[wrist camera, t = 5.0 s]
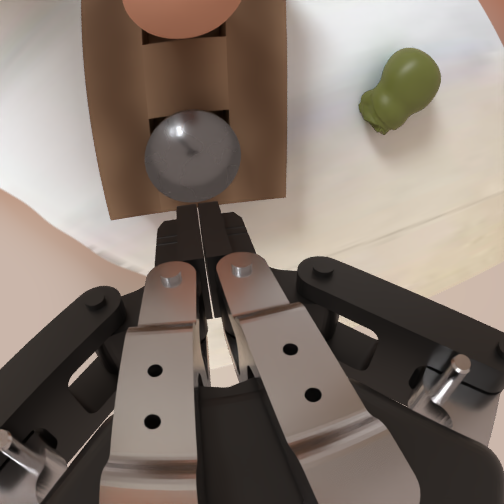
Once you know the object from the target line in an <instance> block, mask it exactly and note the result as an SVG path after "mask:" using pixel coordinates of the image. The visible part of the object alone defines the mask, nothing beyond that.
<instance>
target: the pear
mask: <svg viewBox="0 0 504 504" xmlns="http://www.w3.org/2000/svg"><path fill="white" fill-rule="evenodd" d="M440 83H441V74H440V70H439V68H438V66H437V64H436V63H435V61H434V60H433V59H432V58H431V57H430V56H429V55H428V54H426V53H425V52H423V51H421V50H419V49H416V48H404V49H401V50H399V51H397V52H396V53H394V54H393V55H392V56H391V57H390V59H389V60H388V62H387V63H386V65H385V67H384V70H383V73H382V77H381V80H380V82H379V83H378V85H377V86H376V87H375V88H374V89H373V90H369V91H367V92H365V93H364V94H363V95H362V97H361V102H360V104H359V110H360V112H361V113H362V116H363V118H364V120H366V121H368V122H370V124H371V125H372V127H373V128H374V129H375V130H376V131H377V132H380V133H381V134H383V135H385V134H386V133H387V132H388V131H389V130H391V129H392V130H396V129H397V128H399V127H400V126H402V125H403V124H404V122H405V121H406V120H407V118H408V117H409V116H410V115H412V114H414V113H416V112H418V111H420V110H422V109H424V108H425V107H426V106H427V105H428V104H429V103H430V102H431V101H432V100H433V98H434V97H435V95H436V93H437V91H438V89H439V87H440Z"/></svg>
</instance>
